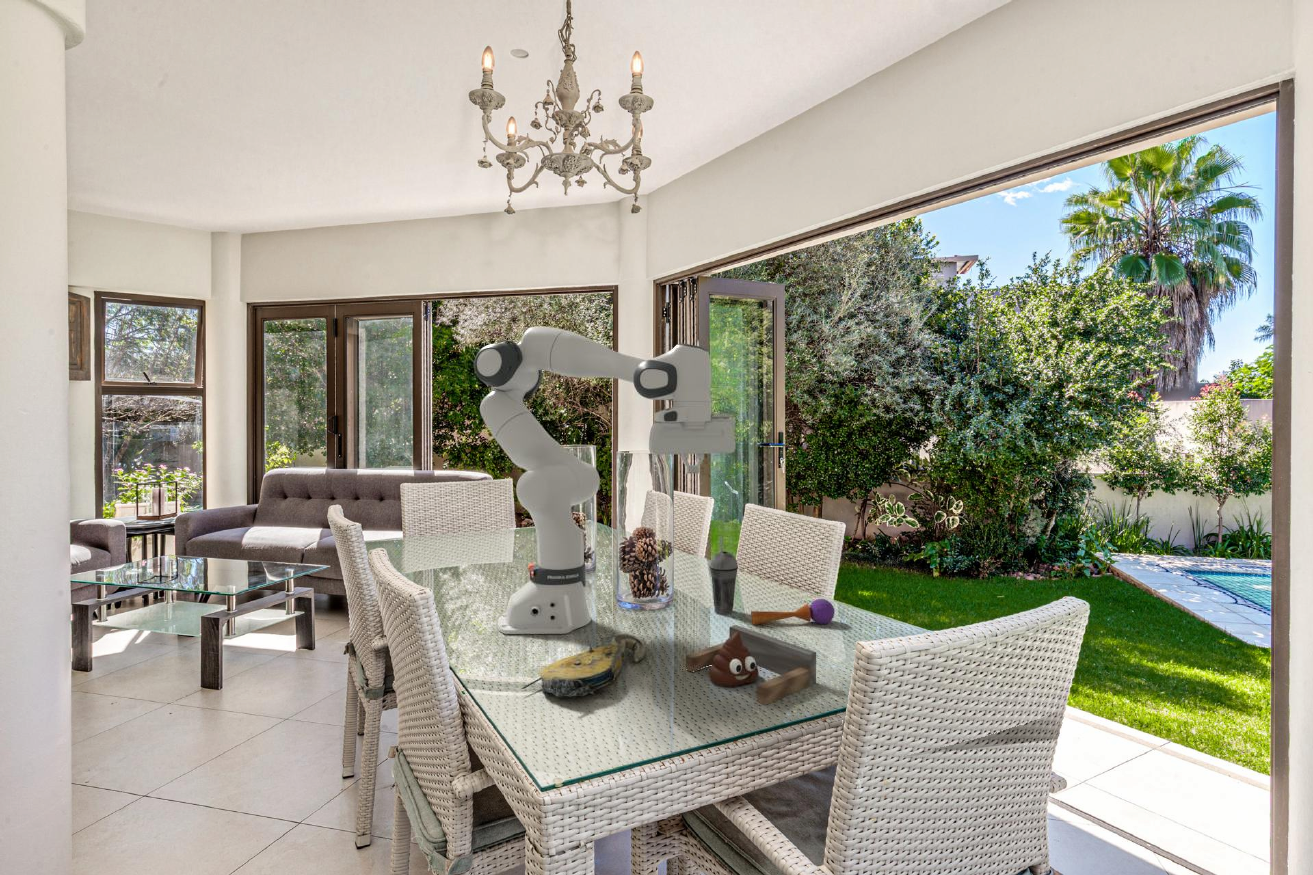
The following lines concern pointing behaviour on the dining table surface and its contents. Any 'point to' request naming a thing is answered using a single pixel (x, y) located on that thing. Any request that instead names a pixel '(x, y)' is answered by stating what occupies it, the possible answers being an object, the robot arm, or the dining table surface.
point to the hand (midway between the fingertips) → (692, 473)
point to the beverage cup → (723, 580)
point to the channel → (767, 663)
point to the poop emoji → (733, 664)
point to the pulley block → (589, 668)
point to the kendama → (799, 613)
